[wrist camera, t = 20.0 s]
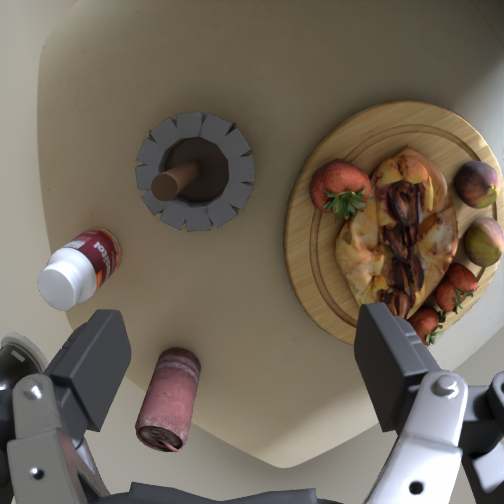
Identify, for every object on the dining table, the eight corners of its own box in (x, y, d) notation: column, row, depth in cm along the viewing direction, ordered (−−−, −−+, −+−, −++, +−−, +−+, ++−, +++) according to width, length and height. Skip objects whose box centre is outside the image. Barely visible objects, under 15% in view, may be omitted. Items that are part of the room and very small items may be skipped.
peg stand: (159, 210, 34) (115, 250, 23) (153, 130, 31) (101, 131, 19) (239, 206, 34) (232, 246, 23) (236, 123, 31) (226, 117, 19)
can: (186, 384, 44) (169, 460, 31) (151, 361, 42) (124, 435, 29) (211, 364, 42) (198, 444, 29) (174, 338, 41) (148, 417, 28)
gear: (150, 227, 34) (144, 234, 31) (139, 121, 29) (130, 121, 27) (257, 221, 33) (257, 228, 31) (251, 109, 29) (251, 107, 27)
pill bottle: (127, 271, 37) (89, 319, 27) (86, 273, 37) (43, 317, 27) (117, 223, 35) (71, 259, 25) (75, 228, 35) (24, 262, 25)
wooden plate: (222, 235, 35) (213, 265, 28) (415, 49, 27) (452, 34, 19) (380, 374, 43) (397, 412, 36) (523, 235, 35) (557, 255, 27)
